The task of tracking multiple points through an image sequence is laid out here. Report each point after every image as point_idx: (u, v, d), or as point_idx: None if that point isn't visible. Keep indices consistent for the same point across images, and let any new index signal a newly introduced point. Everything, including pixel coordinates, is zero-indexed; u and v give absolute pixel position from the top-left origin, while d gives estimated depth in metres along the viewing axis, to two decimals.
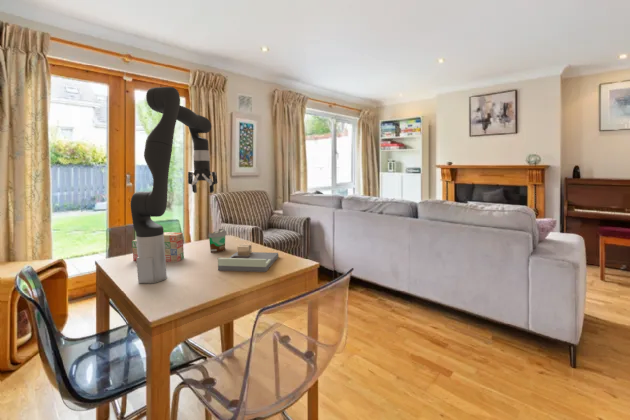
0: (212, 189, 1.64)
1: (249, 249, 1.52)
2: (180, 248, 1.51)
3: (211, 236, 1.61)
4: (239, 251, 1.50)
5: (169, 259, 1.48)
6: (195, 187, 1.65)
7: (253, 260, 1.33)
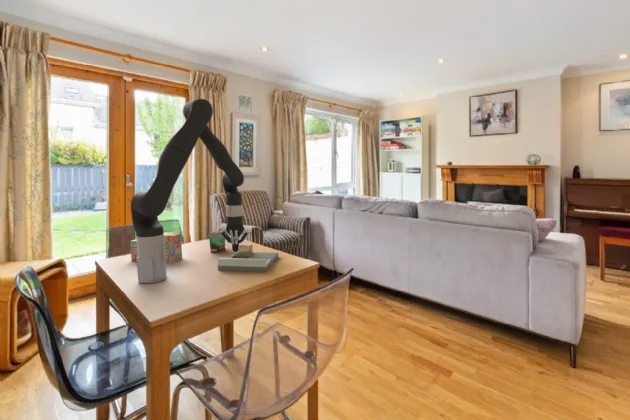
0: (237, 248, 1.52)
1: (250, 249, 1.51)
2: (178, 248, 1.50)
3: (211, 236, 1.61)
4: (241, 251, 1.50)
5: (167, 259, 1.48)
6: None
7: (253, 260, 1.33)
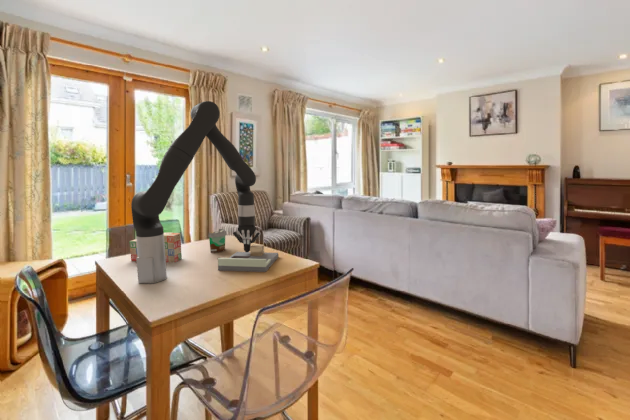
0: (249, 248, 1.51)
1: (262, 249, 1.51)
2: (178, 248, 1.50)
3: (211, 236, 1.61)
4: (252, 251, 1.49)
5: (166, 259, 1.48)
6: None
7: (253, 260, 1.33)
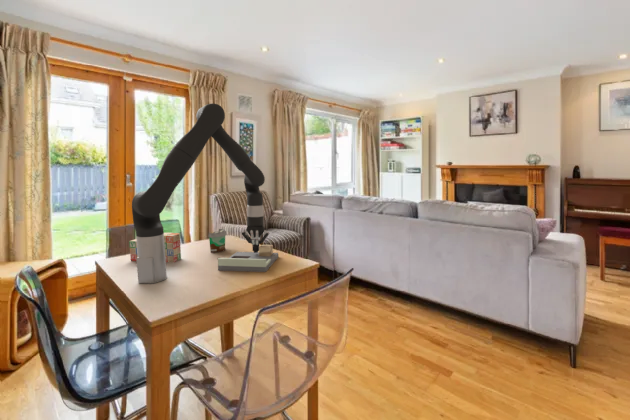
0: (258, 249, 1.51)
1: (271, 250, 1.50)
2: (177, 249, 1.49)
3: (211, 236, 1.61)
4: (261, 251, 1.48)
5: (166, 260, 1.47)
6: None
7: (253, 260, 1.33)
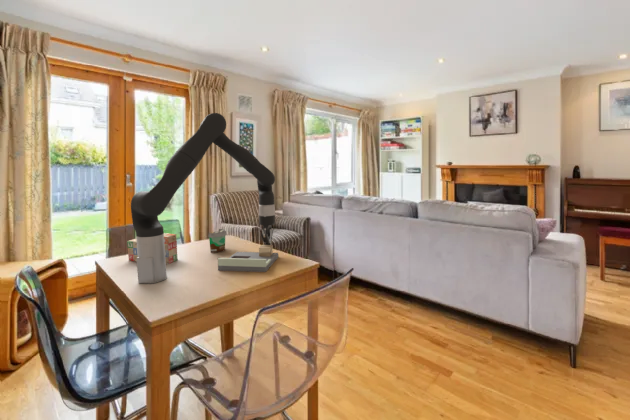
0: None
1: (271, 250, 1.50)
2: (173, 250, 1.48)
3: (211, 236, 1.61)
4: (261, 252, 1.48)
5: None
6: None
7: (253, 260, 1.33)
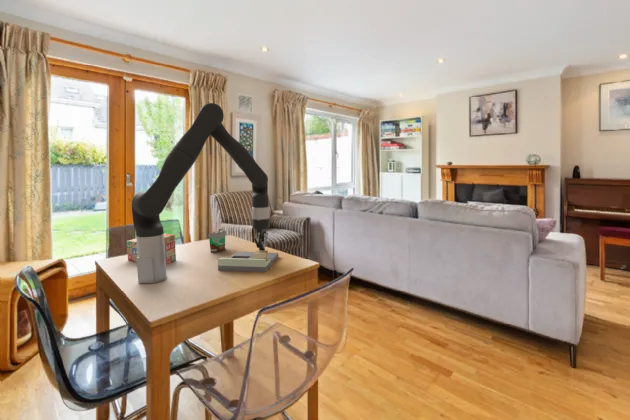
0: None
1: (266, 256, 1.40)
2: (171, 250, 1.47)
3: (211, 236, 1.61)
4: (256, 258, 1.38)
5: None
6: None
7: (253, 260, 1.33)
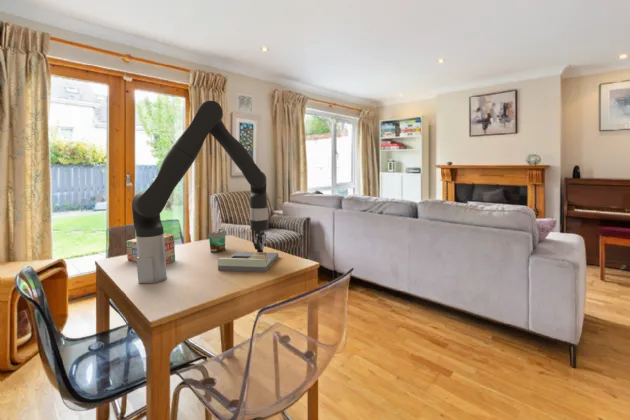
0: None
1: (265, 258, 1.37)
2: (170, 250, 1.46)
3: (211, 236, 1.61)
4: None
5: None
6: None
7: (253, 260, 1.33)
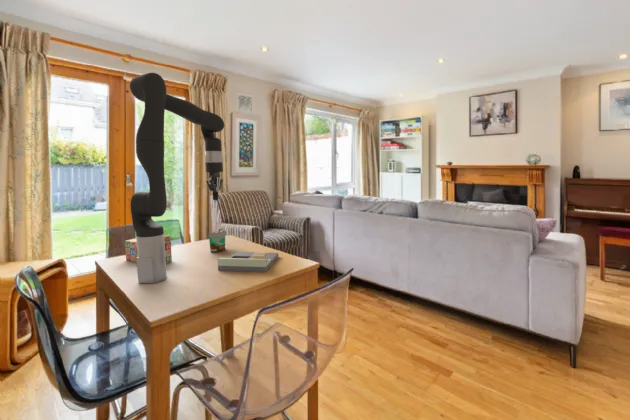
0: (213, 196, 1.50)
1: (265, 258, 1.37)
2: (166, 251, 1.45)
3: (211, 236, 1.61)
4: None
5: None
6: None
7: (253, 260, 1.33)
